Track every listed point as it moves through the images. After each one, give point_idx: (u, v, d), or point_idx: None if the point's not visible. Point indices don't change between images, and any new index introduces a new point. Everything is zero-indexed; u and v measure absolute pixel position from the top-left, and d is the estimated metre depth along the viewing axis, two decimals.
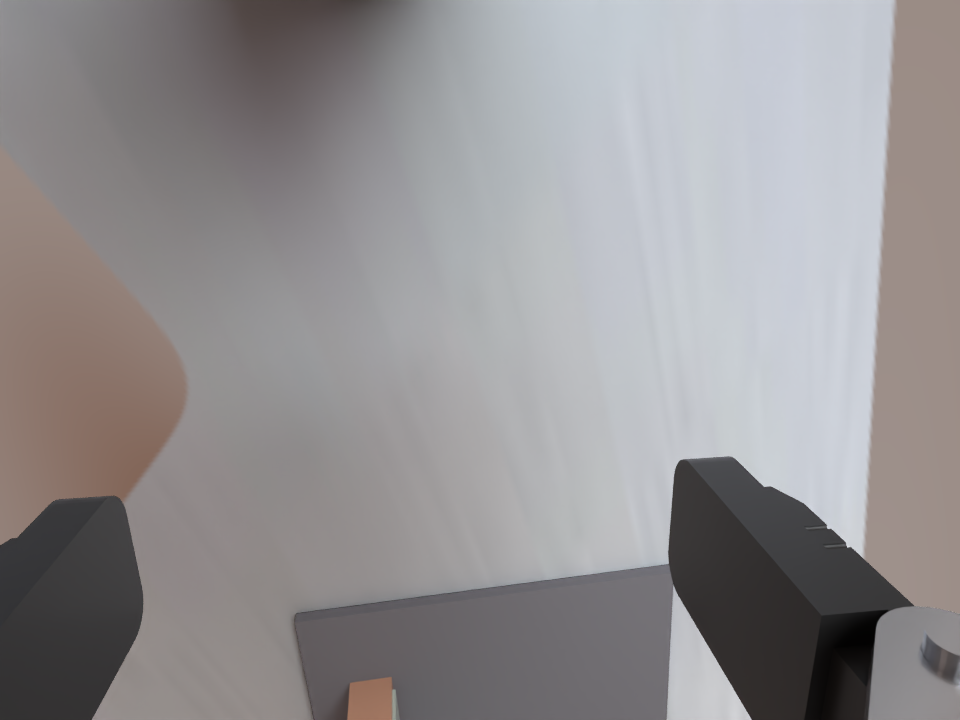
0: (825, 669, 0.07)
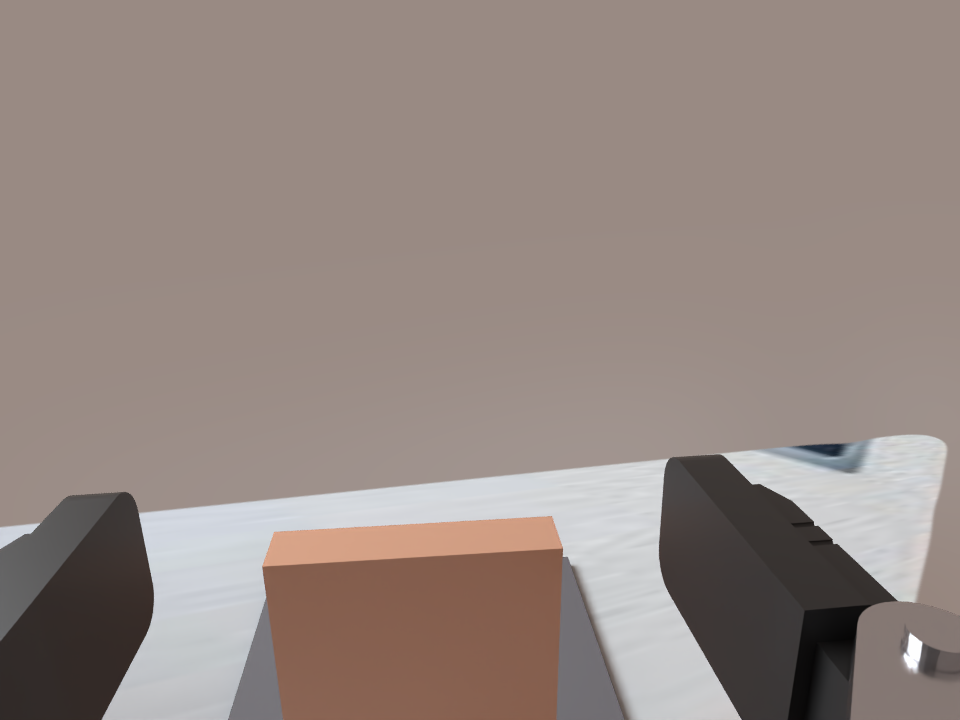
0: (809, 664, 0.07)
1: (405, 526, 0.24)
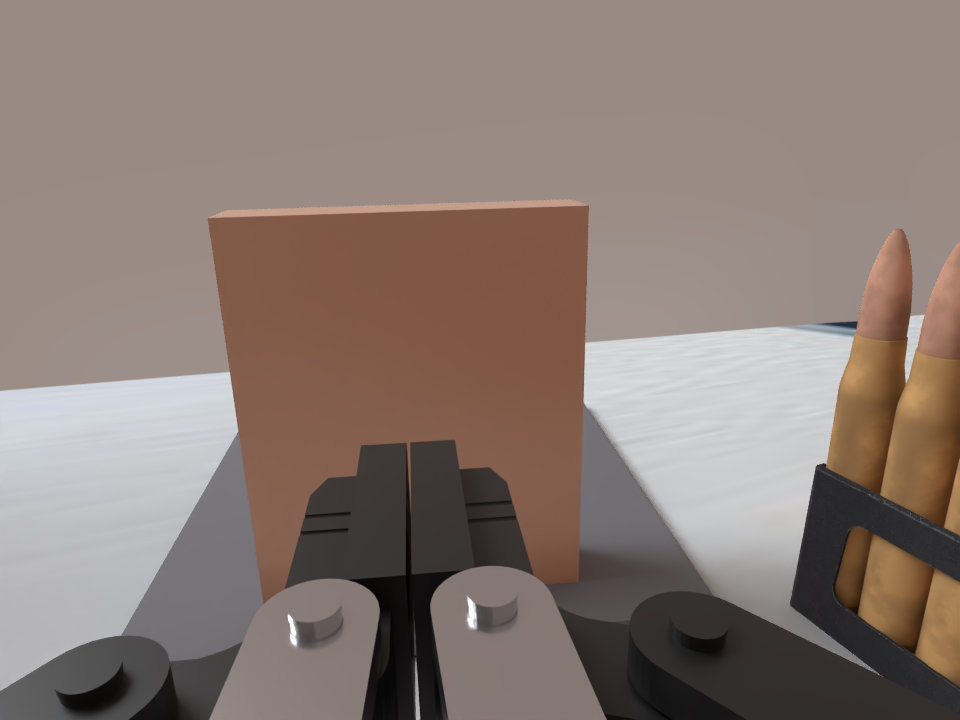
0: (424, 624, 0.07)
1: (391, 205, 0.20)
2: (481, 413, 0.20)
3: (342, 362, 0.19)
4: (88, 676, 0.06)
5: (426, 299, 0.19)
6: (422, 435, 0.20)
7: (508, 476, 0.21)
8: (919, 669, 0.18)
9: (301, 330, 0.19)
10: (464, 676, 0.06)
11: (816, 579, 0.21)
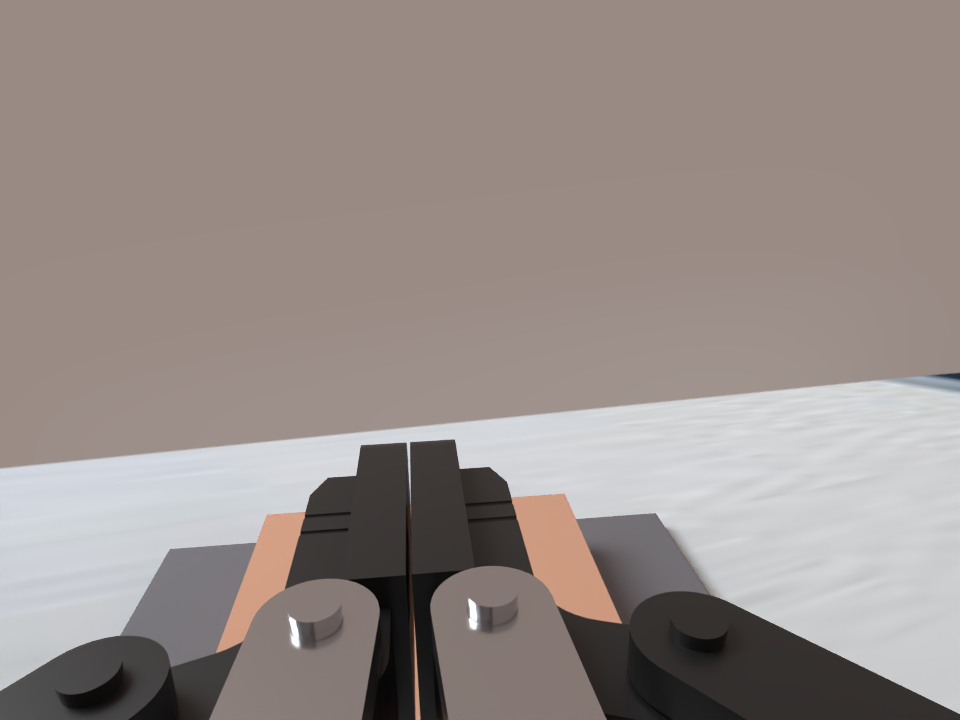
0: (424, 624, 0.07)
1: None
2: None
3: None
4: (87, 675, 0.06)
5: None
6: None
7: None
8: None
9: None
10: (464, 676, 0.06)
11: None
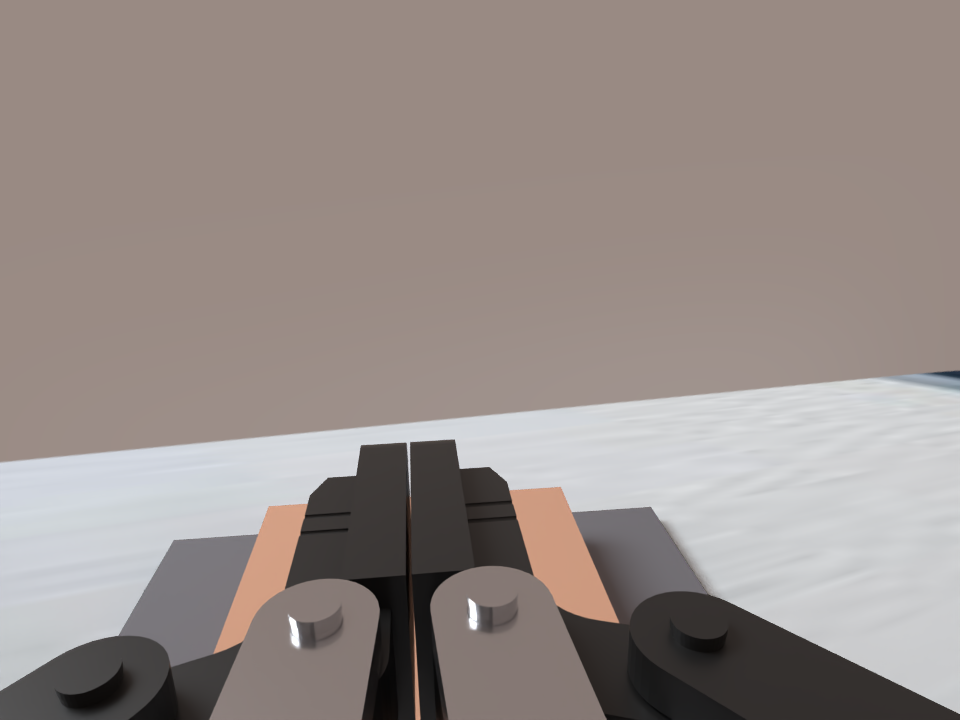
0: (424, 624, 0.07)
1: None
2: None
3: None
4: (87, 675, 0.06)
5: None
6: None
7: None
8: None
9: None
10: (464, 676, 0.06)
11: None
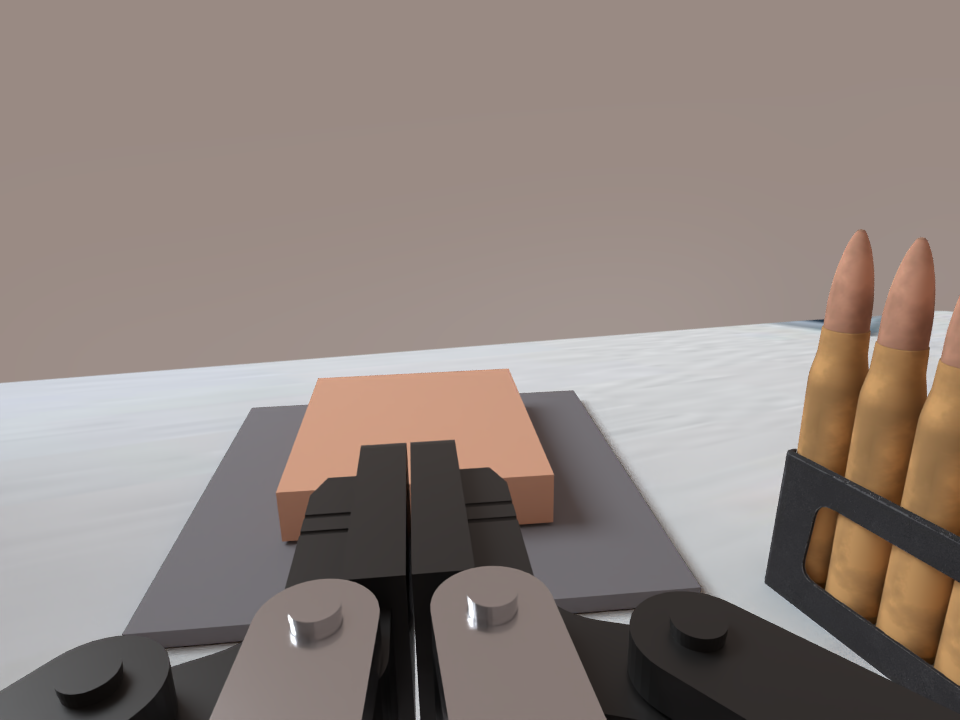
0: (424, 624, 0.07)
1: None
2: (459, 414, 0.30)
3: (374, 404, 0.32)
4: (88, 675, 0.06)
5: (425, 388, 0.34)
6: (420, 422, 0.30)
7: (482, 433, 0.29)
8: (878, 638, 0.19)
9: (353, 397, 0.33)
10: (464, 676, 0.06)
11: (787, 557, 0.22)
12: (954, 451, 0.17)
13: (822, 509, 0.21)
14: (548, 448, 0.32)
